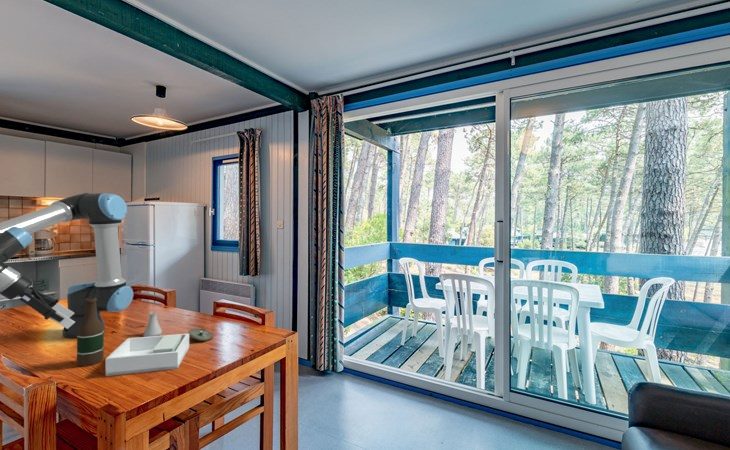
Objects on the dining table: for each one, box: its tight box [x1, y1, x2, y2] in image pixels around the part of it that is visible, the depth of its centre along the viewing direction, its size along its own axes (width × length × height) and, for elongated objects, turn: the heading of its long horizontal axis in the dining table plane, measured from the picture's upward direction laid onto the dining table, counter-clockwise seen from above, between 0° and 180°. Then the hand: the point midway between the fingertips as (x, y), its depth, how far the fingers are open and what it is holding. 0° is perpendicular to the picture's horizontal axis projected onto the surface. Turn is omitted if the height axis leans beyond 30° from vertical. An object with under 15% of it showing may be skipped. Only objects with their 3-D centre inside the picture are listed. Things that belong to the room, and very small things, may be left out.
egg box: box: [153, 334, 182, 353], centre depth 128 cm, size 14×6×6 cm, turn 17°
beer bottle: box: [76, 298, 105, 368], centre depth 124 cm, size 8×8×24 cm
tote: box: [105, 333, 190, 377], centre depth 127 cm, size 20×22×6 cm
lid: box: [187, 327, 214, 342], centre depth 149 cm, size 11×10×5 cm
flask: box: [142, 311, 163, 337], centre depth 154 cm, size 7×7×10 cm
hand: (71, 320), depth 120 cm, fingers open, 13 cm apart
